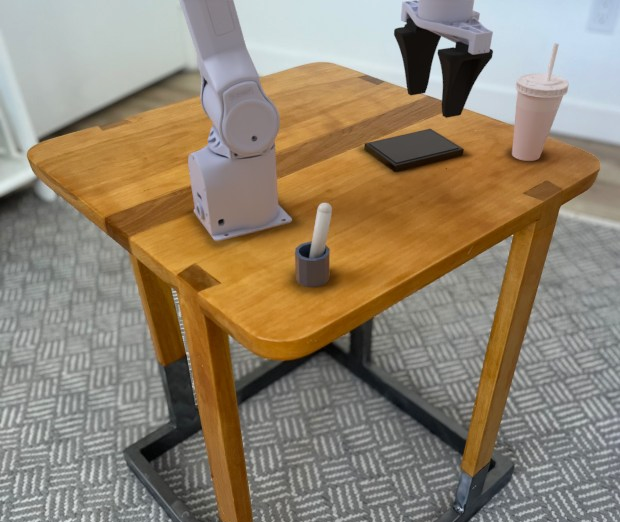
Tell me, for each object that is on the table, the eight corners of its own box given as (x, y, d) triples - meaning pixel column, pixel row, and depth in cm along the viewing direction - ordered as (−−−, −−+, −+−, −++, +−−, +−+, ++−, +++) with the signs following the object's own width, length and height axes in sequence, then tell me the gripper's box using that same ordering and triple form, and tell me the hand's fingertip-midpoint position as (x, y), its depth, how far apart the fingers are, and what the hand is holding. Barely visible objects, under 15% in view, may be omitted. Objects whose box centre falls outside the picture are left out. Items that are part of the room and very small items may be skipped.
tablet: (394, 172, 81) (395, 164, 80) (364, 149, 86) (364, 142, 85) (463, 155, 84) (464, 148, 84) (429, 134, 90) (430, 127, 89)
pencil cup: (305, 293, 61) (304, 263, 59) (290, 276, 64) (289, 246, 61) (335, 284, 62) (335, 254, 60) (320, 267, 65) (319, 238, 62)
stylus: (309, 281, 62) (322, 206, 57) (303, 274, 63) (316, 200, 58) (321, 279, 62) (336, 206, 58) (315, 272, 63) (329, 199, 59)
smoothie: (552, 167, 81) (582, 53, 72) (502, 163, 82) (525, 50, 73) (548, 147, 86) (576, 37, 76) (501, 143, 87) (522, 35, 77)
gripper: (528, -24, 58) (500, 120, 68) (445, -48, 68) (430, 80, 77) (465, -16, 56) (445, 130, 66) (389, -43, 66) (380, 88, 75)
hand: (433, 104), depth 71 cm, fingers open, 7 cm apart
